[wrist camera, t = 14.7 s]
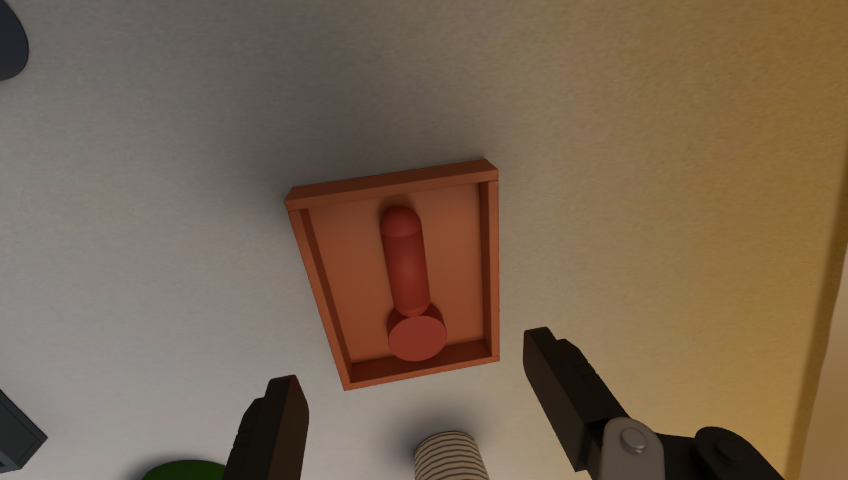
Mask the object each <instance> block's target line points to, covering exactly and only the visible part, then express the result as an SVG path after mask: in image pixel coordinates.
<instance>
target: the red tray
mask: <svg viewBox="0 0 848 480" xmlns="http://www.w3.org/2000/svg"><path fill="white" fill-rule="evenodd" d="M284 202H285V206H286V209H287V211H288V215H289V218H290V221H291V224H292V228H293V231H294V234H295V237H296V240H297V243H298V247H299V250H300V253H301V256H302V259H303V262H304V265H305V269H306V272H307V275H308V278H309V281H310V284H311V288H312V291H313V294H314V297H315V300H316V303H317V307H318V310H319V313H320V316H321V319H322V322H323V326H324V329H325V332H326V335H327V338H328V341H329V345H330V348H331V351H332V354H333V357H334V360H335V363H336V367H337V370H338V373H339V376H340V379H341V382H342V386H343V389H344V391H347V390H352V389H357V388H362V387H368V386H373V385H378V384H383V383H388V382H394V381H399V380H404V379H409V378H414V377H419V376H425V375H430V374H435V373H440V372H445V371H451V370H456V369H461V368H466V367H471V366H477V365H482V364H487V363H492V362H497V361H500V355H499V354H500V346H499V211H498V169H497V168H496V167H495V166H494V165H492V164H491V163H490V162H489V161H488V160H486V159H484V160H477V161H470V162H463V163H456V164H449V165H443V166H436V167H429V168H422V169H415V170H408V171H402V172H395V173H388V174H381V175H374V176H367V177H361V178H354V179H347V180H340V181H333V182H326V183H320V184H313V185H306V186H299V187H293V188H292V189H291V191H290V193H289V194H288V196H287V197H286V199H285V201H284ZM396 206H405V207H408V208H411V209H412V210H414V211H415V212H416V213H417V214H418V216H419V218H420V220H421V224H422V231H423V239H424V248H425V256H426V264H427V272H428V281H429V289H430V304H432V305H434V306H435V307H437V308H438V309H439V311H440V312H441V314H442V317H443V320H444V323H445V327H446V330H447V340H446V343H445V345H444V347H443V348H442V350H441V351H440V352H439V353H437V354H436V355H435V356H433V357H431V358H429V359H426V360H422V361H406V360H403V359H400V358H399V357H397V356H396V355H394V354H393V353H392V351H391V350H390V348H389V345H388V334H387V322H388V319H389V317H390V315H391V314H392V312H393V311H394V310H395V309H396V308H395V306H394V303H393V299H392V294H391V288H390V283H389V277H388V272H387V267H386V261H385V256H384V250H383V245H382V240H381V234H380V221H381V218H382V216H383V215H384V213H385V212H387V211H388V210H389V209H391V208H393V207H396Z"/></svg>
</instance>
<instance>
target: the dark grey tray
mask: <svg viewBox="0 0 848 480" xmlns="http://www.w3.org/2000/svg"><path fill="white" fill-rule="evenodd" d="M46 440H47V437H46V436H45V435H44V434H43V433H42V432H41V431H40V430H39V429H38V428H37V427H36V426H35V425H34V424H33V423H32V422H31V421H30V420H29V419H28V418H27V417H26V416H25V415H24V414H23V413H22V412H21V411H20V410H19V409H18V408H17V407H16V406H15V405H14V404H13V403H12V402H11V401H10V400H9V399H8V398H7V397H6V396H5V395H4V394H3V393H2V392H1V391H0V473H5V472H10V471H15V470H20V469H22V468H23V466H24V465H25V464H26V463H27V462H28V461H29V459H30V458H31V457H32V456H33V455H34V454H35V452H36V451H37V450H38V449H39V448H40V447H41V445H42V444H43V443H44V442H45V441H46Z"/></svg>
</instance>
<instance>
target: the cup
mask: <svg viewBox="0 0 848 480" xmlns="http://www.w3.org/2000/svg"><path fill="white" fill-rule="evenodd" d="M414 464H415V480H490V479H489V476H488V474H487V471H486V468H485V466H484V463H483V460H482V458H481V455H480V452H479V450H478V447H477V445H476V443H475V441H474V439H473V438H471V437H470V436H468V435H466V434H465V433H459V432H447V433H440V434H438V435H435V436H432V437H430V438H428V439H427V440H425V441H424V442H423V443H421V444H420V446H419V447H418V449H417V450H416V452H415V454H414Z"/></svg>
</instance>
